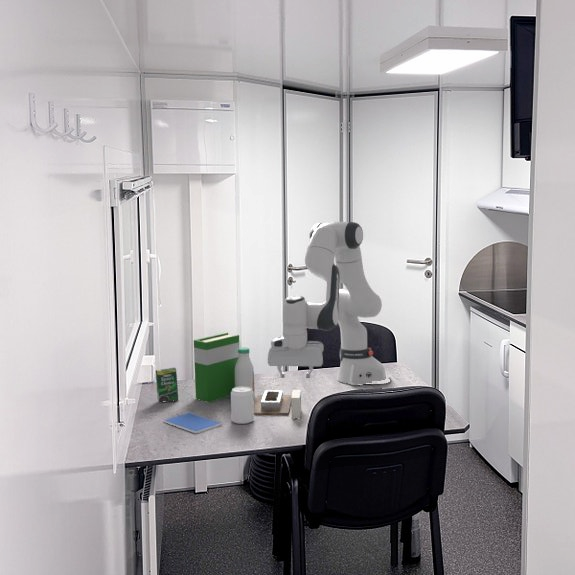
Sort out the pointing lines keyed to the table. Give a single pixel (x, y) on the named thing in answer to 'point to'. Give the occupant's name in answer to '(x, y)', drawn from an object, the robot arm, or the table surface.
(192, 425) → the tablet computer
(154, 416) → the table surface
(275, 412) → the track board
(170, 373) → the coffee box
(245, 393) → the beverage can
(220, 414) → the table surface
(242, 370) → the milk bottle
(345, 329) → the robot arm
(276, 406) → the bottom track
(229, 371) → the hardback book
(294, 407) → the door panel
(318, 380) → the table surface
